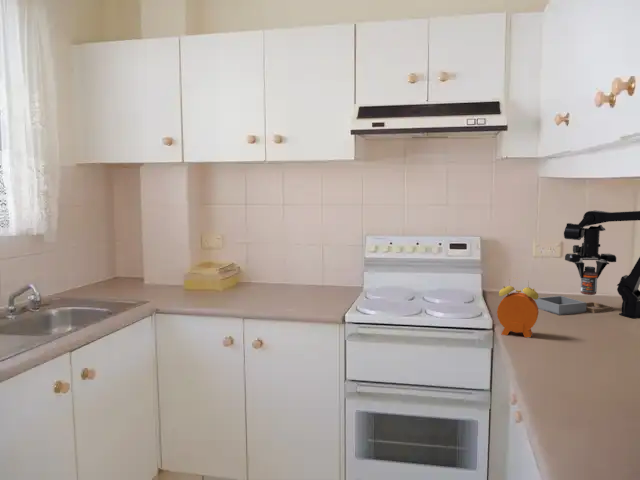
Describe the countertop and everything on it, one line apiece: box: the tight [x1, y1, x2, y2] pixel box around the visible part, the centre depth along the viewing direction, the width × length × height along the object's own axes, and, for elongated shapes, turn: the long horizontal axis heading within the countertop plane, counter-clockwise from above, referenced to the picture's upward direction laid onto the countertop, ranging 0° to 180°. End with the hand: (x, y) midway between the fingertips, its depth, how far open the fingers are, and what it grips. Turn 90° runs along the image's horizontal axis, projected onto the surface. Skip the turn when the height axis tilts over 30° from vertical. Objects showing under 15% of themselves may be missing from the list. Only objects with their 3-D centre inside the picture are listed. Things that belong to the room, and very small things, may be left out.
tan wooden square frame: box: [586, 301, 614, 314], centre depth 229 cm, size 10×10×2 cm
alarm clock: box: [496, 277, 540, 338], centre depth 193 cm, size 13×6×20 cm, turn 64°
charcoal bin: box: [534, 295, 588, 316], centre depth 228 cm, size 14×14×4 cm
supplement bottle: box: [580, 265, 598, 296], centre depth 228 cm, size 6×6×11 cm
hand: (589, 278), depth 228 cm, fingers closed on supplement bottle, 6 cm apart
